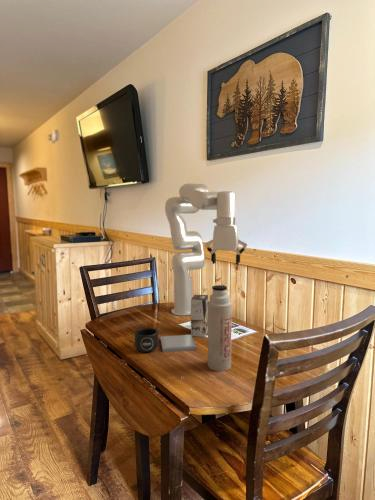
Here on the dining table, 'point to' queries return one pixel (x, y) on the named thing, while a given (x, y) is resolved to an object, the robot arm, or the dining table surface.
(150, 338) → the mug
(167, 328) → the dining table surface
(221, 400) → the dining table surface
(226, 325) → the thermos bottle
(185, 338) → the slate trivet
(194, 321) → the coffee box
